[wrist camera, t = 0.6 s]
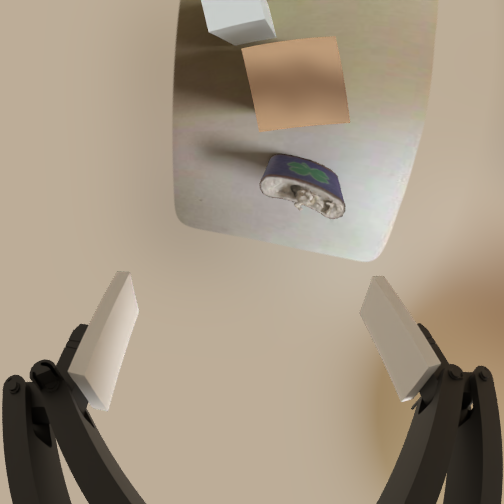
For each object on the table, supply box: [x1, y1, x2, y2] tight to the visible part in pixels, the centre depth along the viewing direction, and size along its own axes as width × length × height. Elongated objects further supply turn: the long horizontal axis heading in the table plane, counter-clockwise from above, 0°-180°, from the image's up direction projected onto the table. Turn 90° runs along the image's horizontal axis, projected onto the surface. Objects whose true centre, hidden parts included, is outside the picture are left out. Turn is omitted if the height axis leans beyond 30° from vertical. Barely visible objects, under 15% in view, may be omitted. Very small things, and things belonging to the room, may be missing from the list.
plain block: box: [242, 36, 350, 132], centre depth 22 cm, size 7×7×13 cm
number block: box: [201, 0, 276, 46], centre depth 20 cm, size 5×5×10 cm
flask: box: [260, 154, 345, 219], centre depth 29 cm, size 9×3×11 cm, turn 75°
